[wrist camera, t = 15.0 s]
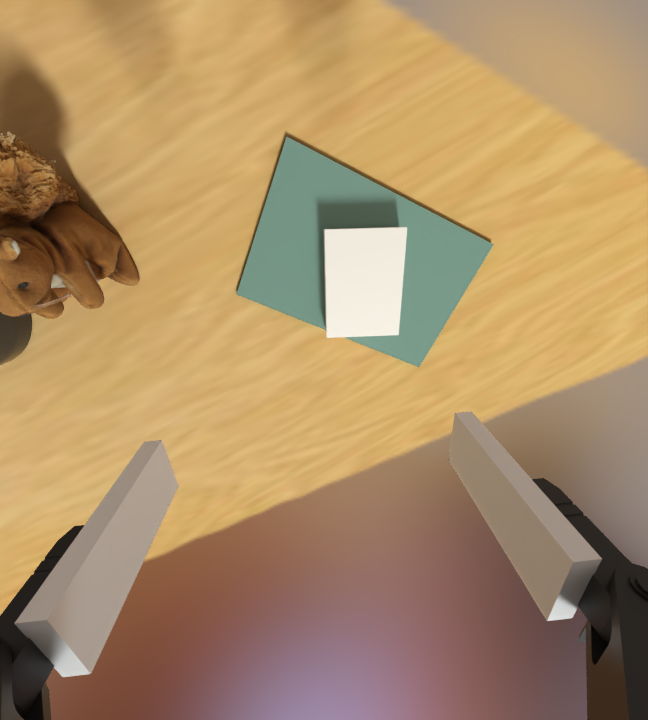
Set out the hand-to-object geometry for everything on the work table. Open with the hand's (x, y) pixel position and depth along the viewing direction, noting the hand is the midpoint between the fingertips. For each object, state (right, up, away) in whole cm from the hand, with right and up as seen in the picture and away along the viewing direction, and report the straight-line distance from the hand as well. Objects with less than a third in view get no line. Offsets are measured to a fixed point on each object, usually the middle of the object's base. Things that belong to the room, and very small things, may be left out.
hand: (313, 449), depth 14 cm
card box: (+5, +7, +21) cm, 23 cm away
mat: (+5, +14, +20) cm, 25 cm away
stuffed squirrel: (-25, +17, +18) cm, 35 cm away
